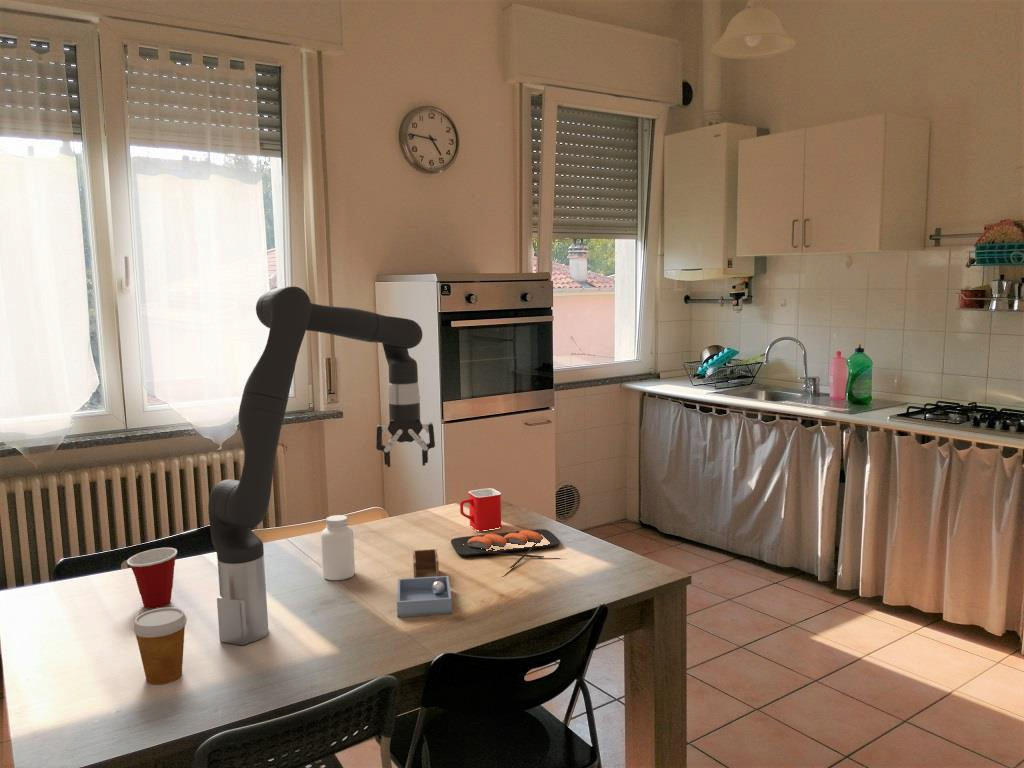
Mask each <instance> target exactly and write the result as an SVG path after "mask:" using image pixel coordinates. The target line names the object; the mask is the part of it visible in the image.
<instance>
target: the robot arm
mask: <svg viewBox="0 0 1024 768" xmlns="http://www.w3.org/2000/svg"><path fill="white" fill-rule="evenodd" d="M255 312H256V313H255V314H256V316H257V319H258V321H259V322H260V323H261V324H262V325H263V326H265V328H267V329H269V332H268V337H267V340H266V341H267V342H266V345H265V347H264V350H263V352H262V354H261V355H260V357H259V359H258V360H257V363H256V364H255V366H254V367H253V369H252V370H251V373H250V375H248V378H247V380H246V382H245V384H244V385H245V386H244V388H243V391H242V392H243V393H242V397H241V400H240V405H239V409H238V410H239V411H238V417H237V418H238V426H239V431H240V437H241V440H242V445H243V453H244V457H243V458H244V459H243V466H242V471H241V475H240V476H241V477H240V479H239V480H238V479H237V480H236V479H228V478H227V479H223V480H221V481H220V482H218V483H216V484H215V485H214V487H212V490H211V492H210V494H209V497H208V503H207V504H208V506H207V509H208V511H207V512H208V519H209V520H208V521H209V530H210V536H211V543H212V546H213V548H214V550H215V553H216V557H217V558H216V559H217V569H218V570H217V571H218V587H219V596H218V597H217V598H216V604H217V606H216V607H217V620H218V622H217V623H218V635H219V642H221V643H222V642H223V643H227V644H233V645H240V646H245V645H246V644H249V643H252V642H256V641H259V640H262V639H263V638H265V637H266V636H268V634H269V617H268V616H269V615H268V603H267V601H268V600H267V584H266V569H265V566H266V565H265V553H264V551H265V550H264V543H263V540H262V539H261V538H260V537H259V536H258V535H257V534H255V532H254V531H253V530H252V529H254V528H256V527H257V526H258V525H260V524H261V522H262V521H264V519H265V516H266V515H267V513H268V510H269V507H270V506H269V505H270V501H271V494H272V485H273V475H274V467H275V461H276V455H277V451H278V446H279V440H280V435H281V430H282V427H283V423H284V419H285V414H286V411H287V405H288V401H289V396H290V390H291V388H292V387H291V386H292V383H293V378H294V373H295V369H296V365H297V360H298V357H299V352H300V349H301V347H302V343H303V341H304V337H305V334H306V332H307V331H308V332H315V333H323V334H328V335H333V336H337V337H342V338H346V339H352V340H356V341H361V342H368V343H378V344H379V343H380V344H382V347H383V352H384V355H385V358H386V362H387V365H388V391H387V392H388V396H387V397H388V399H387V400H388V419H389V423H388V425H382V424H377V426H376V443H375V444H376V450H377V451H382V452H383V456H384V460H383V461H384V465H385V466H387V468H391V451H390V450H391V448H392V447H393V446H394V445H395V444H396V442H398V443H404V442H405V443H412V442H414V441H415V442H416V443H417V444H418V446H420V448H421V460H422V461H421V462H422V464H421V465H422V467H425V466H426V464H428V463H429V453H428V452H429V450H430V449H433V448H434V449H435V447H436V442H435V441H436V440H435V432H434V429H435V428H434V424H433V422H428V423H422V421H421V404H420V403H421V402H420V401H421V400H420V399H421V396H420V395H421V394H420V389H419V388H420V387H419V375H418V372H419V371H418V362H417V361H416V360H415V358H412V356H410V353H409V351H408V350H409V349H413V348H416V347H417V346H418V345H419V344H420V343H421V342H422V339H423V329H422V327H421V326H420V324H419V323H418V322H416V321H415V320H412V319H410V318H403V317H398V316H389V315H383V314H380V313H378V312H377V313H376V312H373V311H368V310H363V309H361V308H353V307H343V306H334V305H332V306H331V305H324V304H317V303H313V302H312V301H311V299H310V296H309V295H308V294H307V292H306V291H305V290H304V289H303V288H301V287H299V286H295V285H293V286H292V285H289V286H281V287H277V288H271V289H270V290H267V291H265V292H263V294H262V293H261V295H260V296H259V298H258V299H257V301H256V305H255ZM423 429H424V431H425V433H428V438H429V442H426V441H424V439H423V438H422V436H421V435H420V433H421V431H422V430H423ZM386 431H388V433H389V434H391V437H390V438H389V439H388V441H387V443H386V444H382V443H383V435H385V433H386Z"/></svg>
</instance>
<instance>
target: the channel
mask: <svg viewBox="0 0 1024 768" xmlns="http://www.w3.org/2000/svg"><path fill="white" fill-rule="evenodd" d="M412 565H413V569H412V570H413V578H422V577H437V576H440V570H439V569H440V568H439V566H440V565H439V556H438V549H436V548H433V549H432V548H431V549H418V550H416V549H415V550H412Z"/></svg>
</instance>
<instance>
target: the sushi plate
mask: <svg viewBox="0 0 1024 768" xmlns="http://www.w3.org/2000/svg"><path fill="white" fill-rule="evenodd" d="M541 534H542V535H543V536H544V537H545V538H546V539H547V540H548V541H549V542H550V544H548V545H543V546H535V545H536V544H537V543H540V542H541V540H542V539H543V537H542V536H541ZM527 541H528V542H534V543H536V544H534V545H533V546H532V547H524V548H513V549H506V550H504V549H500V550H497V551H493V550H495V549H493V548H491V549H492V550H488V551H486V549H489V548H490V547H491V545H493V546H499V547H504V546H505V545H506V543H511V544H518V545H525V544H526V543H527ZM450 544H451V546H452V548H453V549H454V551H455V552H456V554H458V555H459V556H476V555H486V554H495V555H504V556H516V557H520V558H519V559H517V561H515V562H514V563H513V564H512V565H511V566H510V567H509V568H512V567H514V566H515V565H516V564H517V563H518V564H519V563H520V562H521V561H522V560H523V559H524V558H533V557H544V556H545V555H532V554H531V555H530V554H529V553H530V552H531V551H532V550H533V549H543V548H549V547H551V548H552V547H555V546H559V545H560V544H561V541H560V540H559V538H558V537H557V536H556V535H555V534H554V533H553V532H551V531H550V530H548V529H545V528H543V529H542V528H539V529H537V528H536V529H524V530H518V531H517V530H516V531H508V532H498V533H487V534H478V535H476V534H475V535H469V536H461V537H460V536H459V537H455V538H452V539H451V540H450ZM463 544H464V545H463ZM481 548H482V549H481ZM523 550H527V551H526V552H525V553H523V554H520V553H519V554H518V553H508V552H513V551H514V552H515V551H523ZM518 564H517V565H518ZM517 565H516V566H517ZM516 566H515V567H516ZM515 567H514V568H515Z"/></svg>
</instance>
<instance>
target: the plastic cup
mask: <svg viewBox="0 0 1024 768" xmlns="http://www.w3.org/2000/svg"><path fill="white" fill-rule="evenodd" d="M177 555H178V550H177V548H173V547H159V548H154V549H153V548H152V549H148V550H145V551H142V552H141V551H140V552H139V553H136V554H134V555H132V556H131V557H129V558H128V559H127V560H126V562H127V565H128V566H129V567H130V568H131V570H132V572H133V575H134V578H135V581H136V585H137V588H138V592H139V595H140V596H141V601H142V604H143V606H144V608H145V609H148V610H149V609H150V610H154V609H158V608H165V607H167V606H168V605H169V604H170V603H171V600H172V592H173V587H174V585H173V584H174V575H175V565H176V557H177Z"/></svg>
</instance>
